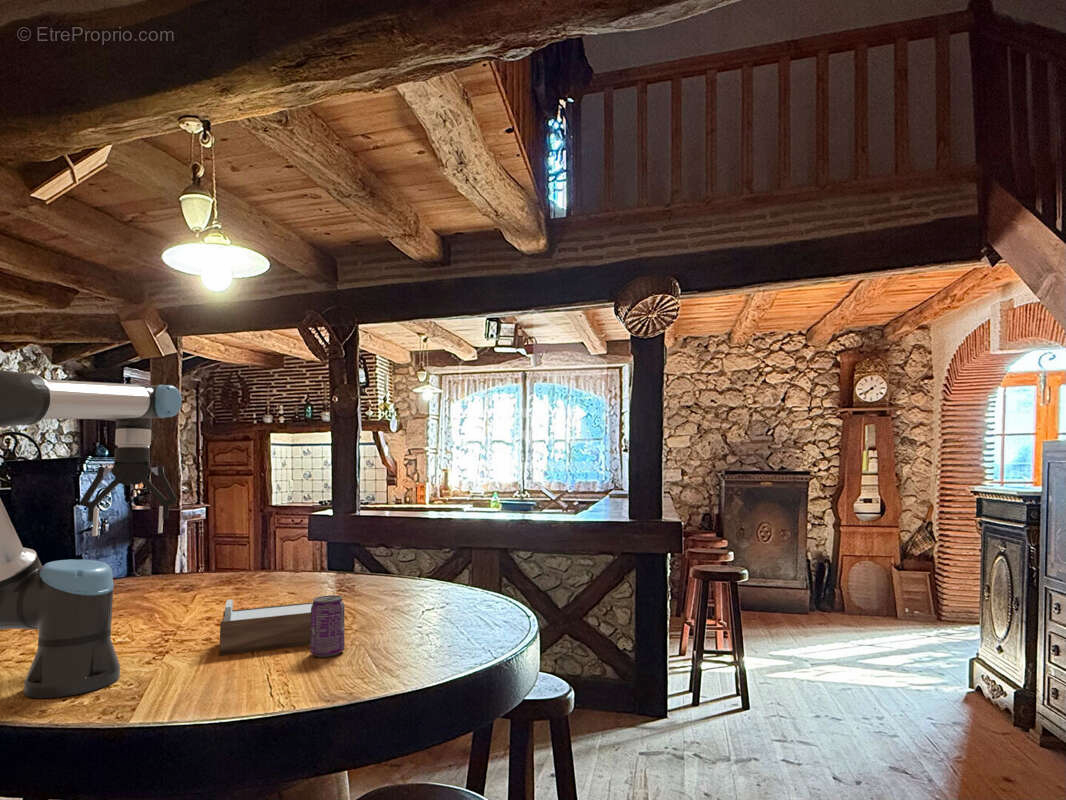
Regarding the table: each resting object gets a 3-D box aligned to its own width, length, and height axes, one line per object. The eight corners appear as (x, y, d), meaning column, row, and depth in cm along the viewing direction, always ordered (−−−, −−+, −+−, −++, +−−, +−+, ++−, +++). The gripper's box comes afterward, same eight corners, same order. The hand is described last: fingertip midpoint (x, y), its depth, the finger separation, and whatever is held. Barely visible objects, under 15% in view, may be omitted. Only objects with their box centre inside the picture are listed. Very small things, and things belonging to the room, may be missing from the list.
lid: (321, 616, 152) (321, 598, 153) (222, 626, 144) (223, 608, 145) (318, 607, 162) (318, 590, 162) (225, 616, 154) (226, 599, 154)
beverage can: (332, 647, 147) (332, 593, 148) (350, 652, 143) (351, 597, 144) (304, 655, 142) (304, 599, 143) (322, 660, 137) (322, 602, 139)
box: (324, 642, 151) (324, 611, 152) (219, 655, 143) (220, 622, 144) (320, 630, 162) (320, 601, 163) (223, 642, 154) (223, 611, 155)
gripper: (190, 447, 169) (186, 530, 167) (75, 447, 158) (69, 535, 156) (189, 446, 163) (185, 532, 160) (68, 445, 152) (62, 538, 149)
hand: (128, 534), depth 158 cm, fingers open, 13 cm apart
